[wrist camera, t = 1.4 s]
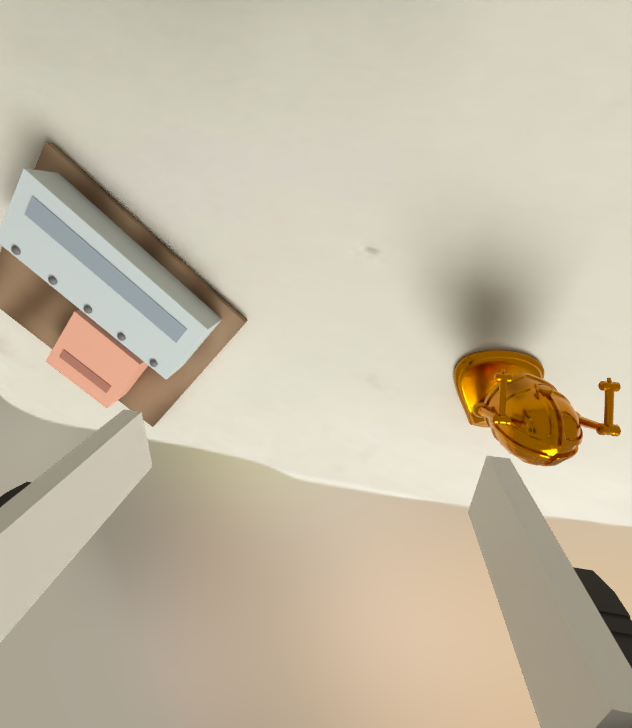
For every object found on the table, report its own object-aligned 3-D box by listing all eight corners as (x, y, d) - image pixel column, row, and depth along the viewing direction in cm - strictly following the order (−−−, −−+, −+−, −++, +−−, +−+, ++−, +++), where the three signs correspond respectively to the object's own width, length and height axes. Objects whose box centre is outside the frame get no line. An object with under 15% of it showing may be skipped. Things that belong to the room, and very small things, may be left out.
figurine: (555, 336, 32) (653, 400, 21) (523, 429, 36) (590, 521, 25) (463, 330, 33) (510, 387, 22) (442, 421, 37) (473, 506, 26)
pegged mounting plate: (29, 238, 34) (-7, 240, 31) (58, 172, 31) (21, 167, 28) (182, 366, 38) (165, 380, 35) (222, 319, 35) (206, 330, 32)
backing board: (-10, 294, 39) (-17, 295, 38) (53, 143, 31) (45, 142, 30) (156, 423, 43) (152, 426, 43) (247, 320, 36) (245, 322, 35)
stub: (70, 349, 39) (44, 361, 36) (99, 303, 36) (73, 311, 33) (126, 393, 41) (106, 408, 38) (158, 352, 38) (139, 365, 34)
